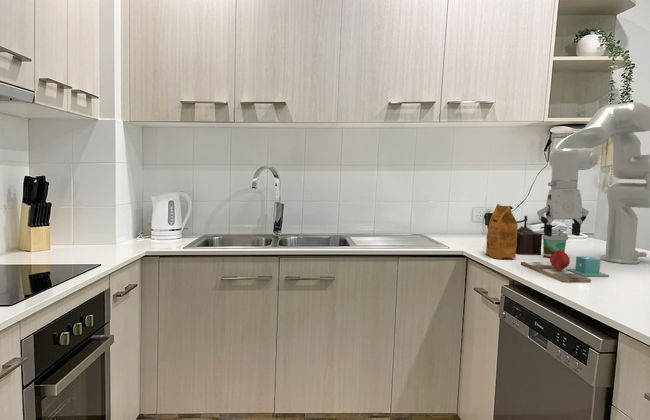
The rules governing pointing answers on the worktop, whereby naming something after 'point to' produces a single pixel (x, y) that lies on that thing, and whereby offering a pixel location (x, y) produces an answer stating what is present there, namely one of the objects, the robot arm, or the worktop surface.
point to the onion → (559, 260)
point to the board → (555, 272)
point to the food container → (553, 244)
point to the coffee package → (502, 233)
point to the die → (587, 265)
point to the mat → (588, 274)
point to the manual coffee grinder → (528, 240)
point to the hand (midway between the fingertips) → (561, 235)
